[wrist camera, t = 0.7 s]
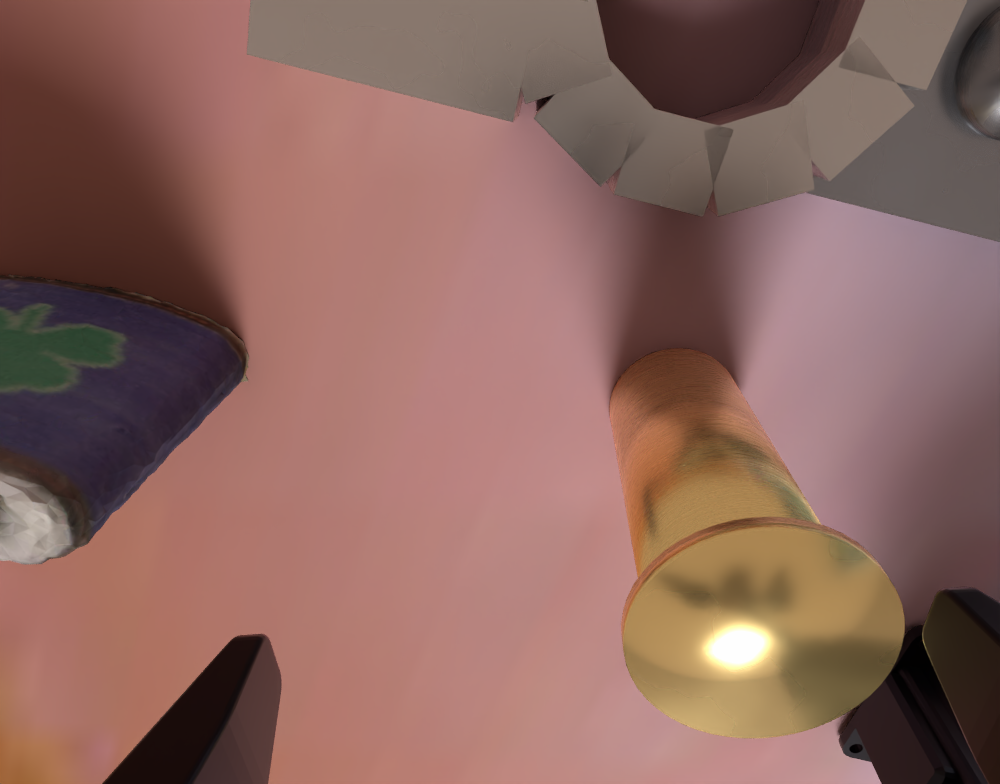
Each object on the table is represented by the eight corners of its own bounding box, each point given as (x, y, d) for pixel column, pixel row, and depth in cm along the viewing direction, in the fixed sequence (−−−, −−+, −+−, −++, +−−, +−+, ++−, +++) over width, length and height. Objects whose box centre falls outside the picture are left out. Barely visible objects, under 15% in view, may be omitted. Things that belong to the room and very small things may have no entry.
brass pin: (780, 354, 21) (958, 568, 12) (720, 490, 23) (832, 761, 14) (620, 315, 21) (674, 501, 12) (575, 455, 23) (590, 706, 14)
